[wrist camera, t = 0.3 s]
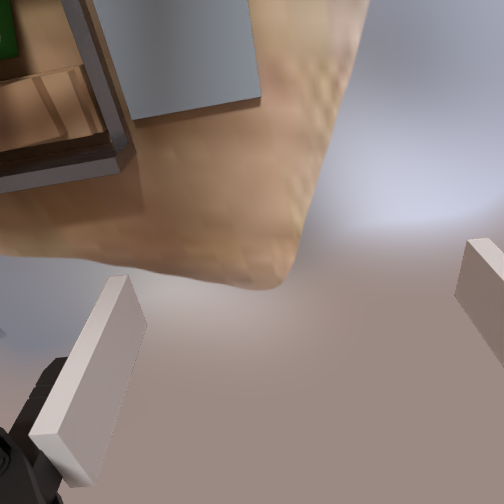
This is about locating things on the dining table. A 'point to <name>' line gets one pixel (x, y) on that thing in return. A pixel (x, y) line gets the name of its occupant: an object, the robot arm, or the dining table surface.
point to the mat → (180, 53)
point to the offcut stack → (48, 108)
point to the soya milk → (7, 32)
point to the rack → (89, 158)
